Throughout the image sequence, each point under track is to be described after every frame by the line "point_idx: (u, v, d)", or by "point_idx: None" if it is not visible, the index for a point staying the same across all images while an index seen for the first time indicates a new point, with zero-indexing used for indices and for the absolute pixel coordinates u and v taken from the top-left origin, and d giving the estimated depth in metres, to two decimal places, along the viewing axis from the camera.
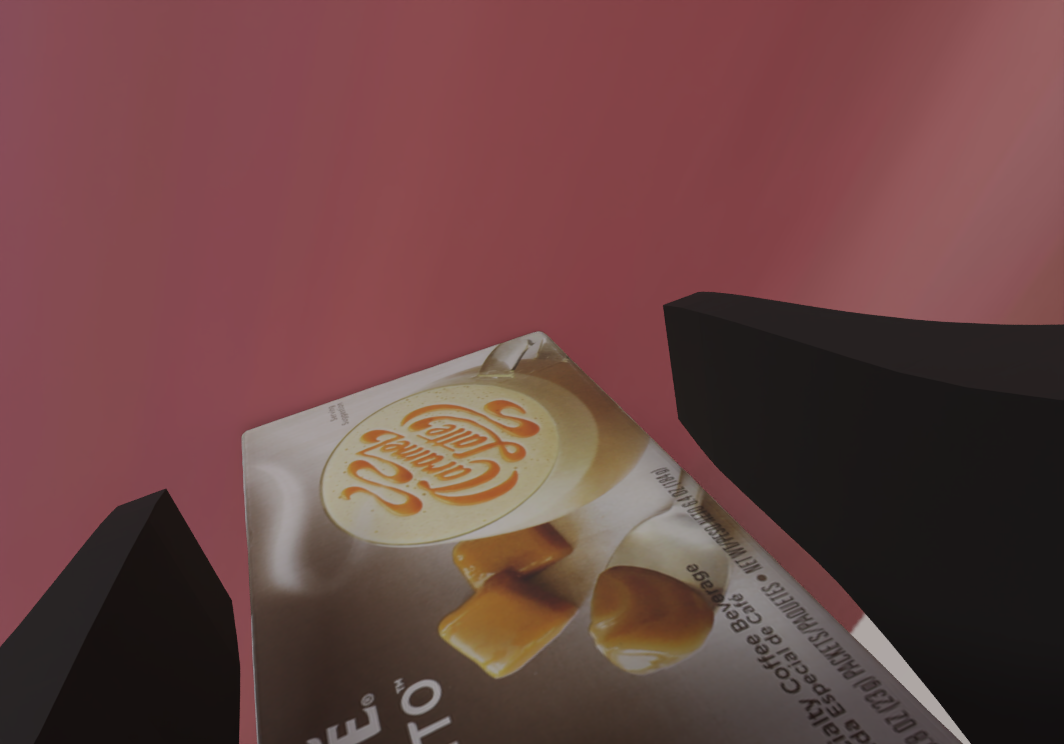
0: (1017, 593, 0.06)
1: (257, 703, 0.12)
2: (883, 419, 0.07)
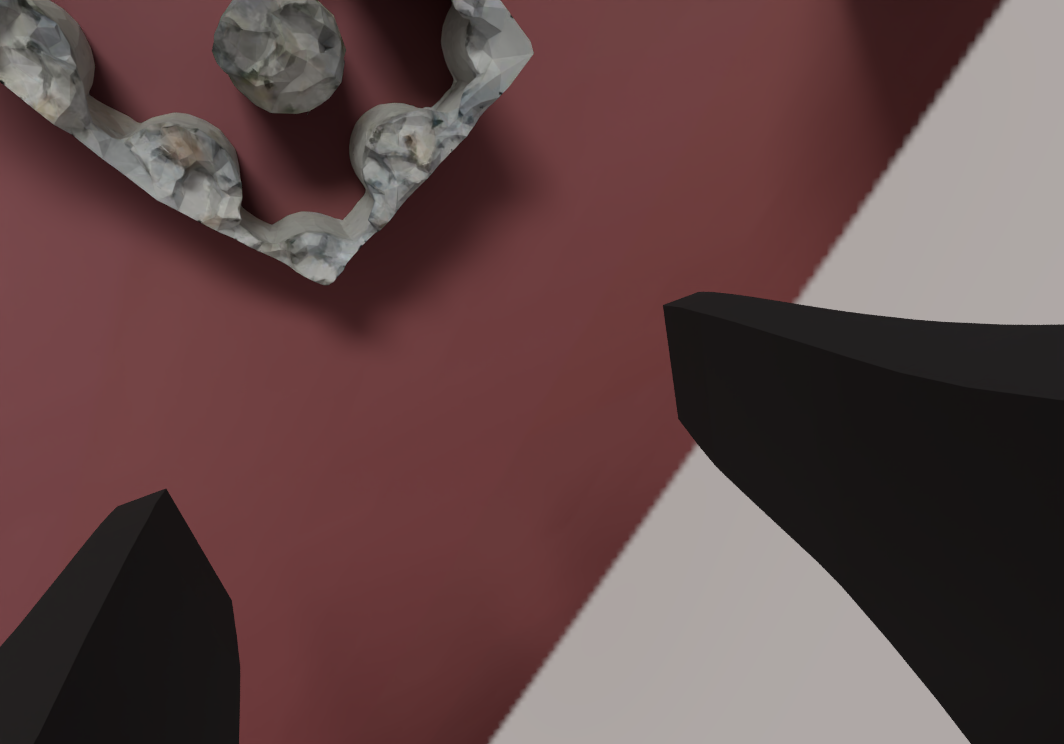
0: (1017, 593, 0.06)
1: None
2: (883, 419, 0.07)
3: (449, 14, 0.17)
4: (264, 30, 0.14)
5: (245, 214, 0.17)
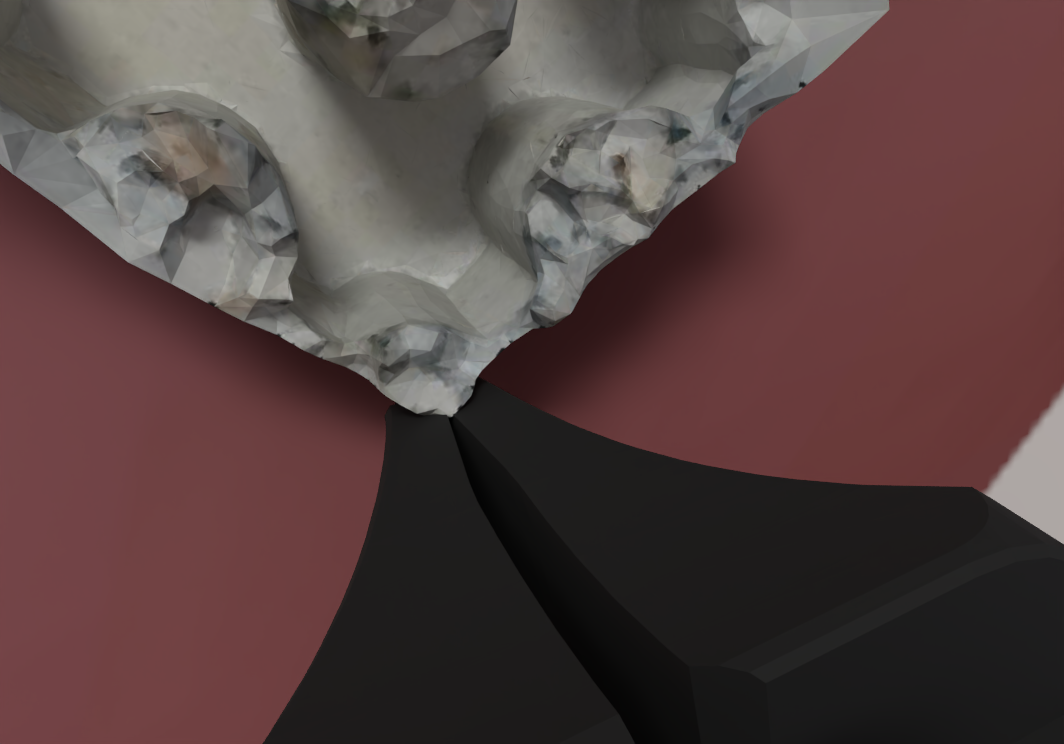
0: None
1: None
2: (553, 562, 0.06)
3: None
4: None
5: (291, 280, 0.09)
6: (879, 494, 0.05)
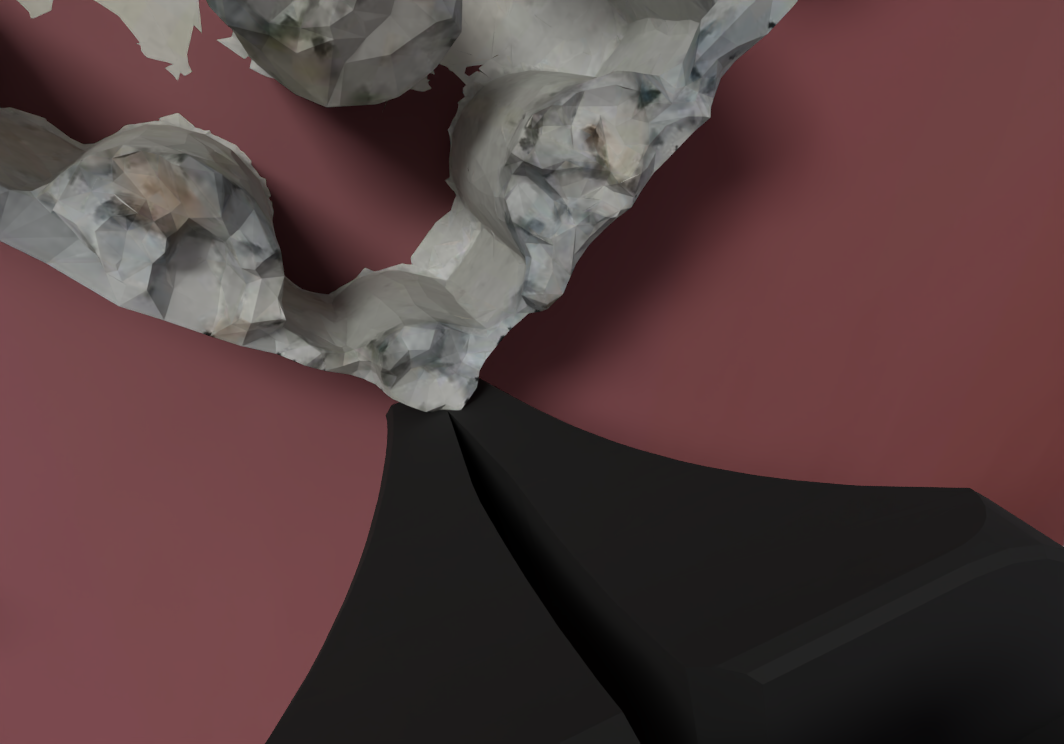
0: None
1: None
2: (552, 563, 0.06)
3: None
4: None
5: (288, 295, 0.09)
6: (877, 495, 0.05)
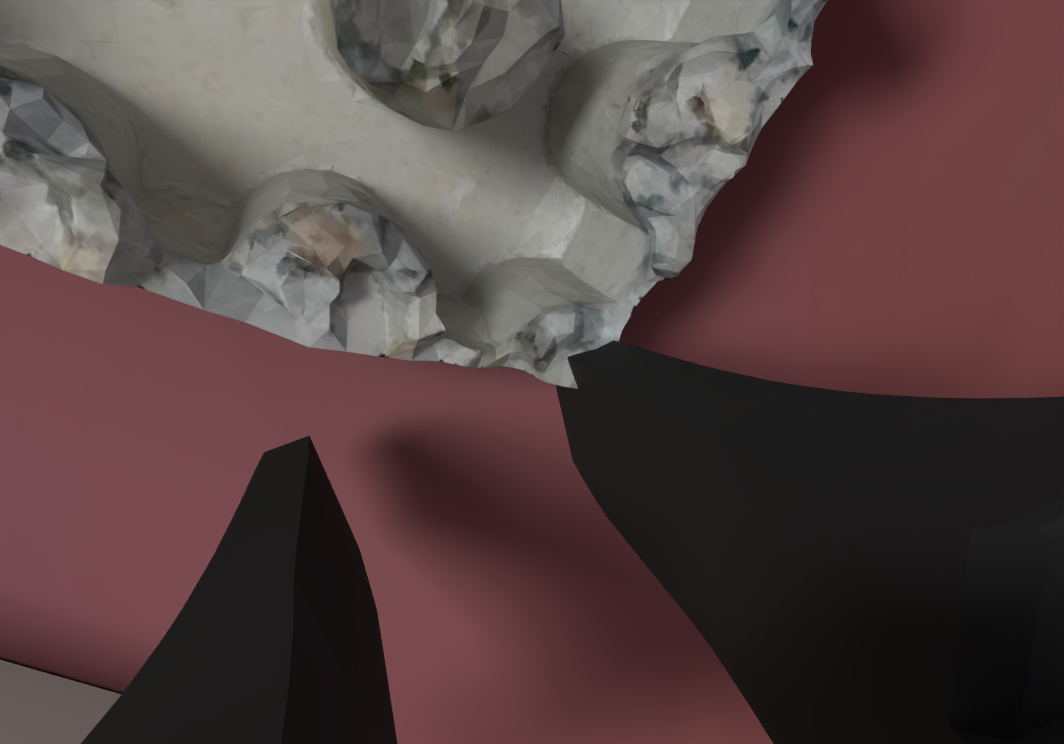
0: (838, 685, 0.06)
1: None
2: (720, 490, 0.07)
3: None
4: None
5: None
6: None
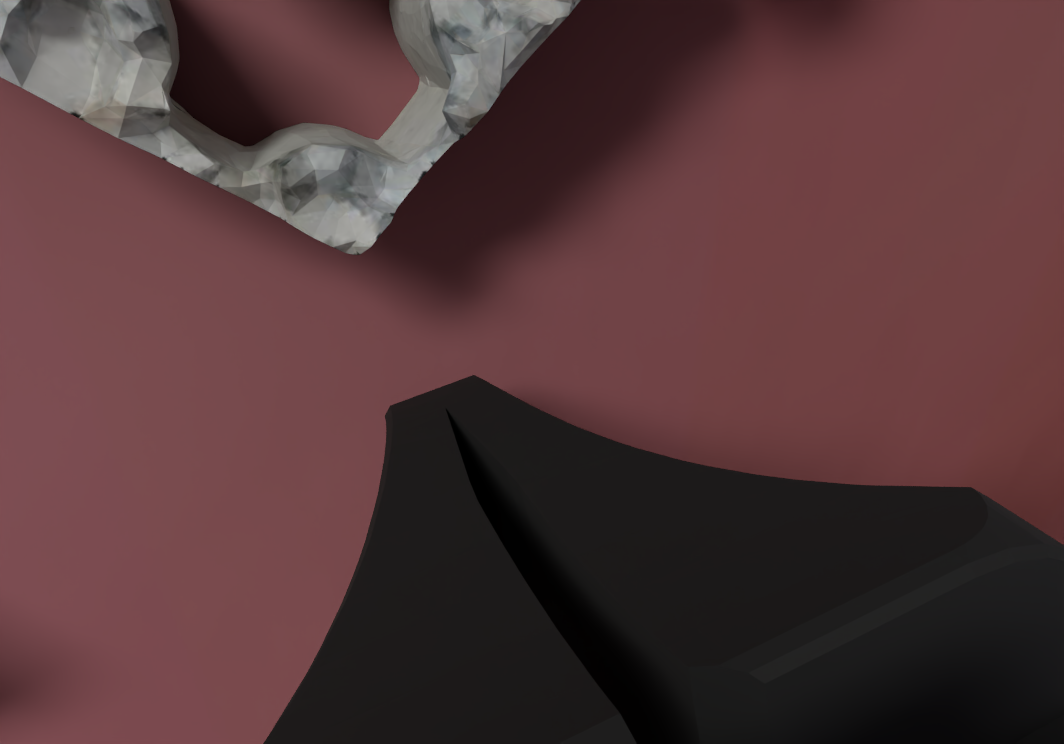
0: None
1: None
2: (553, 562, 0.06)
3: None
4: None
5: (191, 120, 0.08)
6: (879, 494, 0.05)
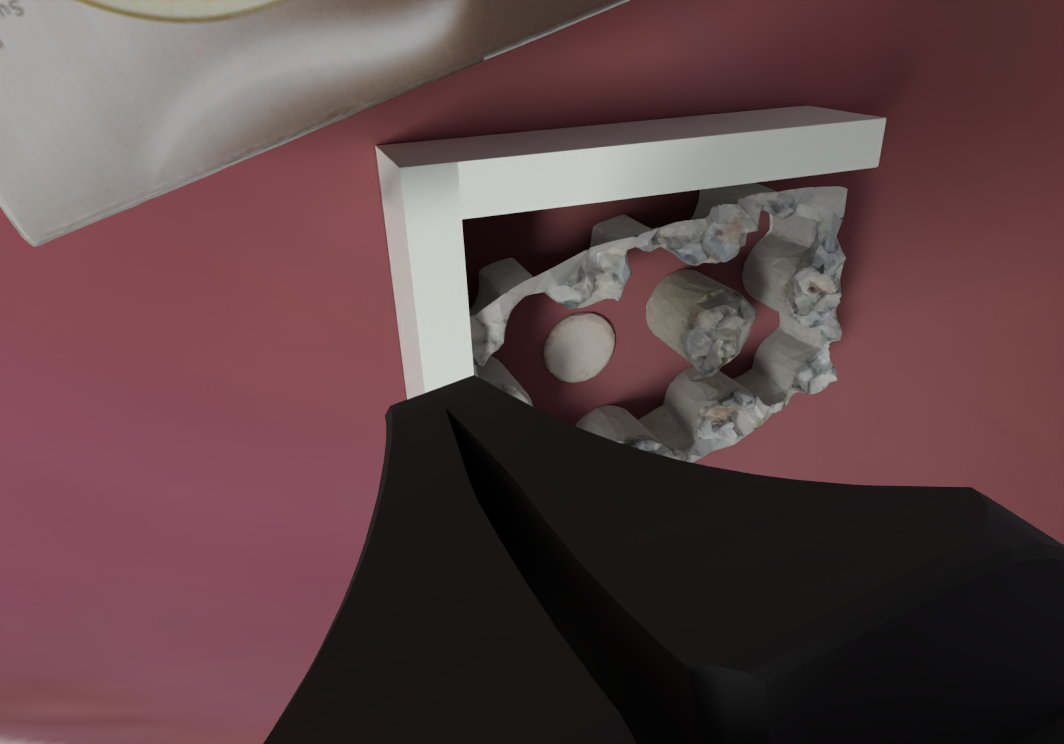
0: None
1: (604, 6, 0.12)
2: (553, 562, 0.06)
3: None
4: (712, 342, 0.20)
5: (746, 386, 0.24)
6: (878, 495, 0.05)
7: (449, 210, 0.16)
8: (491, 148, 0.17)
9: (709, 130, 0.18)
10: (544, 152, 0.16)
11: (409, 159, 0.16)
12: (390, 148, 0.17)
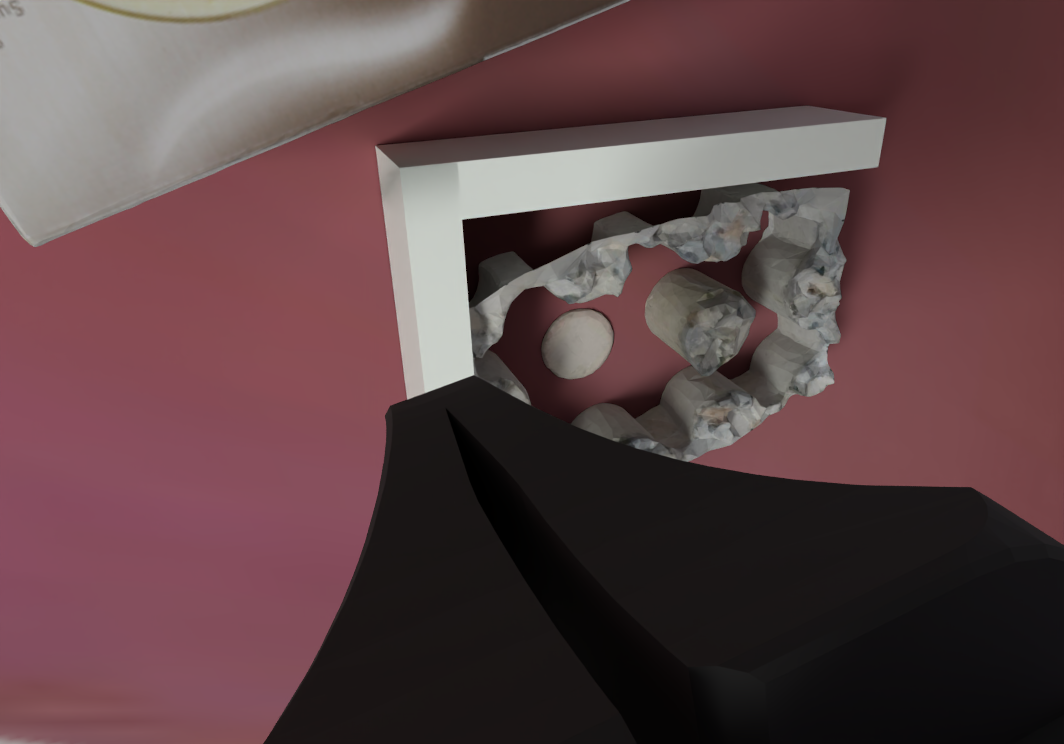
0: None
1: (604, 6, 0.12)
2: (553, 562, 0.06)
3: None
4: (710, 341, 0.20)
5: (743, 387, 0.24)
6: (878, 494, 0.05)
7: (449, 210, 0.16)
8: (491, 148, 0.17)
9: (709, 130, 0.18)
10: (544, 152, 0.16)
11: (409, 159, 0.16)
12: (390, 148, 0.17)
